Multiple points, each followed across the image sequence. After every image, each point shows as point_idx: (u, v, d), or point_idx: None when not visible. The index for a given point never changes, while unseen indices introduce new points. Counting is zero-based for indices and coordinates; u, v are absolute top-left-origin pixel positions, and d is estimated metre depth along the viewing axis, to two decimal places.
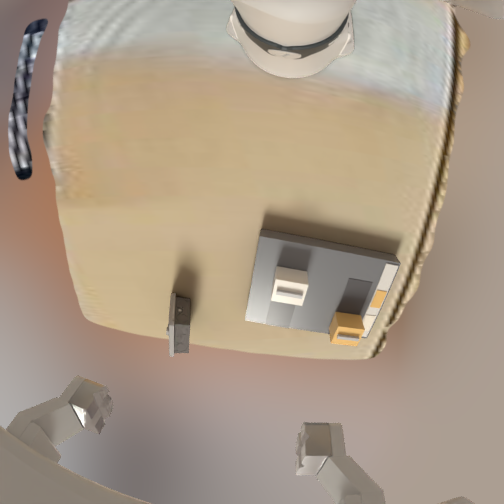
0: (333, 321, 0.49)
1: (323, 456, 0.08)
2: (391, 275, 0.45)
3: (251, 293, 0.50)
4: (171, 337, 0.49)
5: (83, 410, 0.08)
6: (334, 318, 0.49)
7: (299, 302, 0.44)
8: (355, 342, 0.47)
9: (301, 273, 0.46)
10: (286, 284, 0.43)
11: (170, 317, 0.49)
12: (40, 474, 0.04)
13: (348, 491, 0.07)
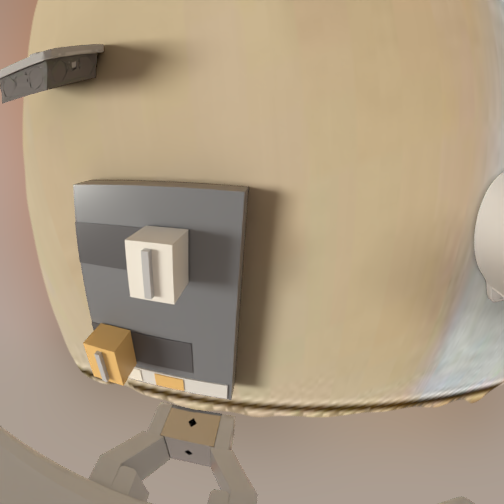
0: (114, 332, 0.28)
1: (204, 445, 0.08)
2: (210, 393, 0.31)
3: (124, 188, 0.24)
4: (21, 64, 0.14)
5: (180, 441, 0.08)
6: (120, 333, 0.28)
7: (135, 291, 0.22)
8: (98, 374, 0.27)
9: (185, 277, 0.25)
10: (164, 265, 0.21)
11: (59, 49, 0.15)
12: (40, 474, 0.04)
13: (225, 487, 0.07)
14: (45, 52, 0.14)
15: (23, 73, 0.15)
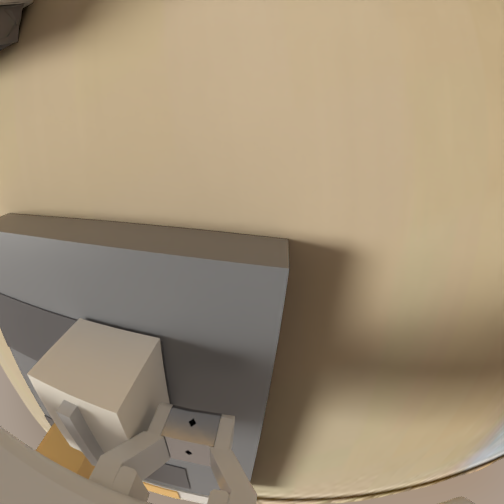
0: None
1: (204, 445, 0.08)
2: None
3: (34, 243, 0.10)
4: None
5: (180, 441, 0.08)
6: None
7: (75, 444, 0.09)
8: None
9: None
10: (111, 435, 0.08)
11: None
12: (40, 474, 0.04)
13: (225, 487, 0.07)
14: None
15: None
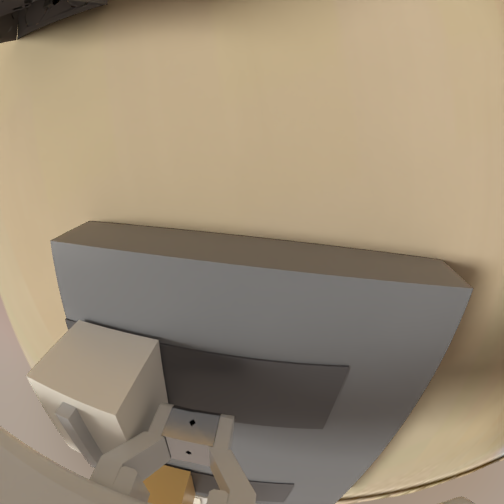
0: (165, 477, 0.14)
1: (203, 445, 0.08)
2: None
3: (186, 267, 0.10)
4: None
5: (181, 441, 0.08)
6: (174, 478, 0.14)
7: (75, 446, 0.09)
8: None
9: None
10: (110, 437, 0.07)
11: None
12: (40, 474, 0.04)
13: (224, 486, 0.07)
14: None
15: None
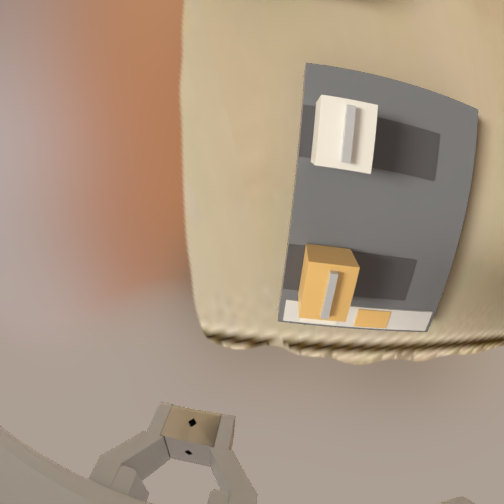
0: (335, 250, 0.24)
1: (204, 445, 0.08)
2: (412, 325, 0.27)
3: (378, 79, 0.19)
4: None
5: (180, 441, 0.08)
6: (342, 251, 0.24)
7: (324, 158, 0.18)
8: (309, 312, 0.23)
9: None
10: (367, 126, 0.17)
11: None
12: (40, 474, 0.04)
13: (225, 487, 0.07)
14: None
15: None
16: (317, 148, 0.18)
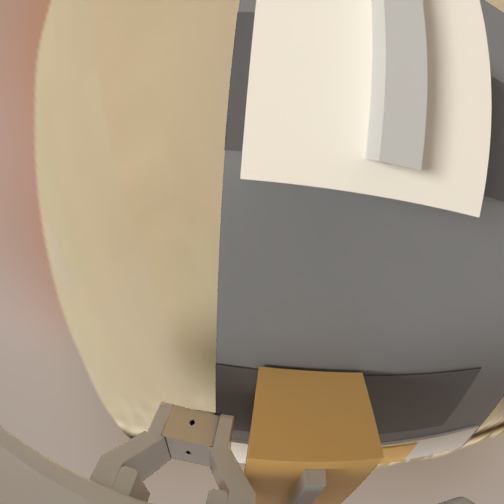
0: (328, 390, 0.09)
1: (203, 445, 0.08)
2: (445, 447, 0.12)
3: None
4: None
5: (181, 442, 0.08)
6: (344, 388, 0.09)
7: (285, 141, 0.04)
8: None
9: None
10: (459, 26, 0.03)
11: None
12: (40, 474, 0.04)
13: (224, 486, 0.07)
14: None
15: None
16: (251, 96, 0.04)
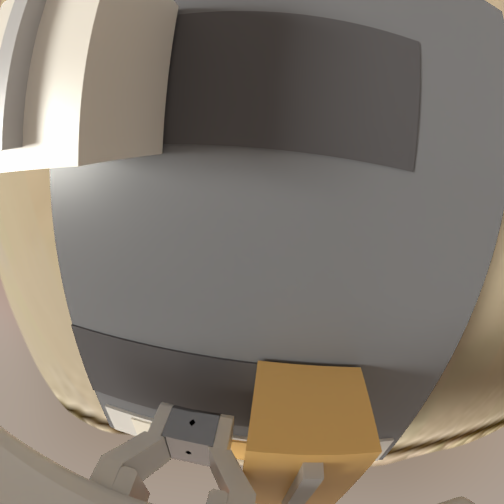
0: (326, 384, 0.09)
1: (203, 445, 0.08)
2: None
3: None
4: None
5: (181, 441, 0.08)
6: (342, 382, 0.09)
7: None
8: (259, 499, 0.08)
9: (150, 122, 0.07)
10: (72, 10, 0.03)
11: None
12: (40, 474, 0.04)
13: (224, 486, 0.07)
14: None
15: None
16: None
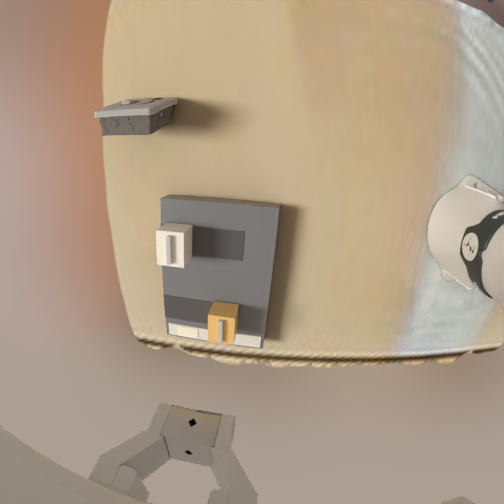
0: (228, 306, 0.44)
1: (204, 445, 0.08)
2: (248, 343, 0.47)
3: (201, 203, 0.40)
4: (127, 112, 0.31)
5: (180, 441, 0.08)
6: (232, 306, 0.44)
7: (160, 261, 0.39)
8: (213, 339, 0.43)
9: (190, 253, 0.42)
10: (179, 244, 0.38)
11: (157, 107, 0.32)
12: (40, 474, 0.04)
13: (225, 487, 0.07)
14: (150, 109, 0.30)
15: (126, 118, 0.32)
16: (157, 256, 0.39)
